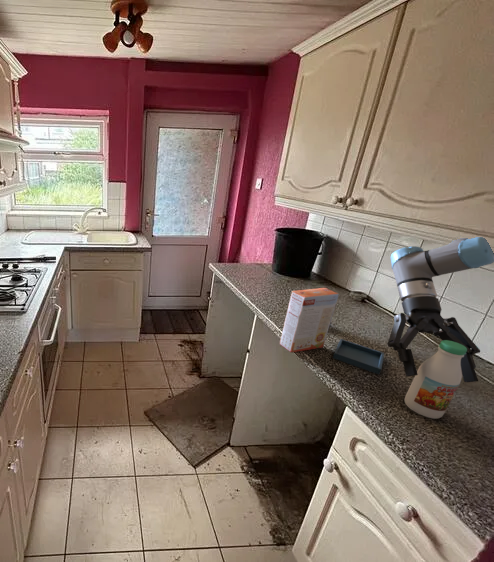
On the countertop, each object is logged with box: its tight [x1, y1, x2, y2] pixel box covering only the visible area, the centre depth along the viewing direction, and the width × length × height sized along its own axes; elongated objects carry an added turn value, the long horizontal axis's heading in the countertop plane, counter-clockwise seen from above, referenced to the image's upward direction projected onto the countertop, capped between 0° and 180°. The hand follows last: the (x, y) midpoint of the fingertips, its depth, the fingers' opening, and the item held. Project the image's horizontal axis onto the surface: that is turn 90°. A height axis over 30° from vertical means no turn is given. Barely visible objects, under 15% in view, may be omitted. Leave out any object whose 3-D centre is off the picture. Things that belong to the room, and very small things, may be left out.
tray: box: [332, 338, 385, 376], centre depth 104 cm, size 12×12×2 cm
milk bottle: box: [404, 340, 467, 420], centre depth 79 cm, size 8×8×20 cm
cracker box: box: [279, 287, 340, 353], centre depth 106 cm, size 14×6×21 cm, turn 105°
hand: (441, 378), depth 78 cm, fingers open, 13 cm apart
